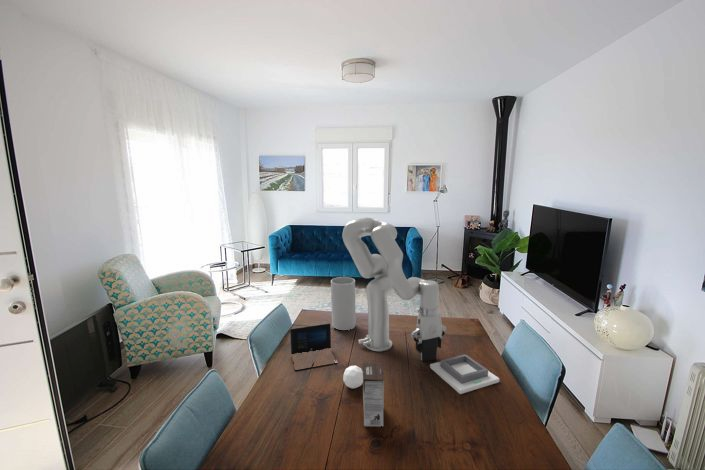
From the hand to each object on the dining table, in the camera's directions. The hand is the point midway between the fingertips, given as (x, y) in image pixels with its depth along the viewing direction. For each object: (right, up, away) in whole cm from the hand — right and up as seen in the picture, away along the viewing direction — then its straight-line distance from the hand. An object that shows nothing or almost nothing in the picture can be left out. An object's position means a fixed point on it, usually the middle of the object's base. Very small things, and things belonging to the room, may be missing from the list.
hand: (428, 348), depth 136 cm
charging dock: (+11, -6, -11) cm, 17 cm away
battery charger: (0, -5, +1) cm, 5 cm away
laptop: (-49, -6, +2) cm, 49 cm away
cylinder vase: (-37, 0, +33) cm, 50 cm away
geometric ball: (-32, -8, -17) cm, 37 cm away
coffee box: (-26, -10, -32) cm, 43 cm away
